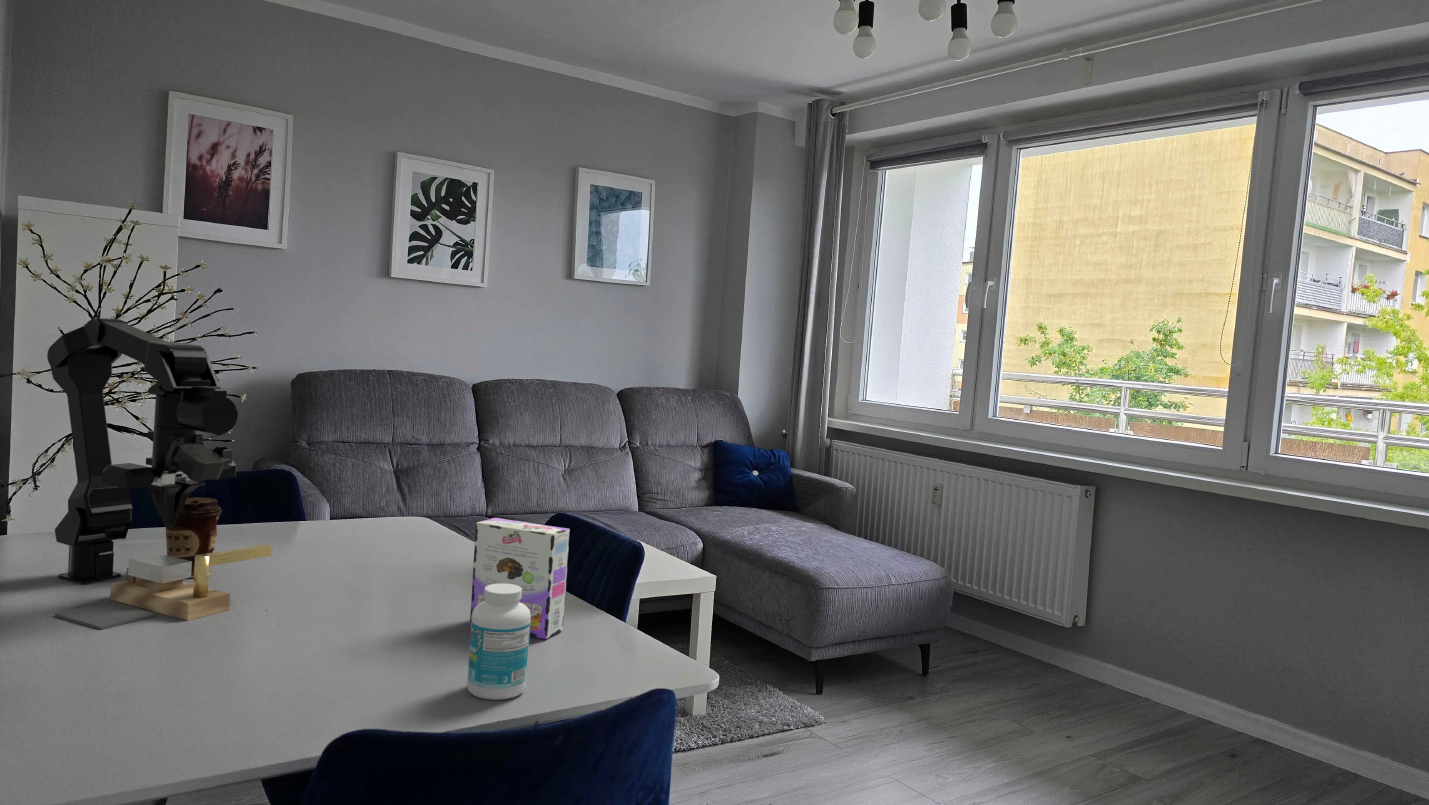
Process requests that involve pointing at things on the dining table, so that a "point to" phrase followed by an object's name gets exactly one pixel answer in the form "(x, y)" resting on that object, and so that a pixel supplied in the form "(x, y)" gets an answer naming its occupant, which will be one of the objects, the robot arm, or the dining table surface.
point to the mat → (104, 615)
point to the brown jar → (194, 530)
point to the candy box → (524, 568)
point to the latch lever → (222, 558)
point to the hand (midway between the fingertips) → (169, 526)
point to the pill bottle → (499, 644)
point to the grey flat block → (159, 568)
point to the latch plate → (168, 597)
